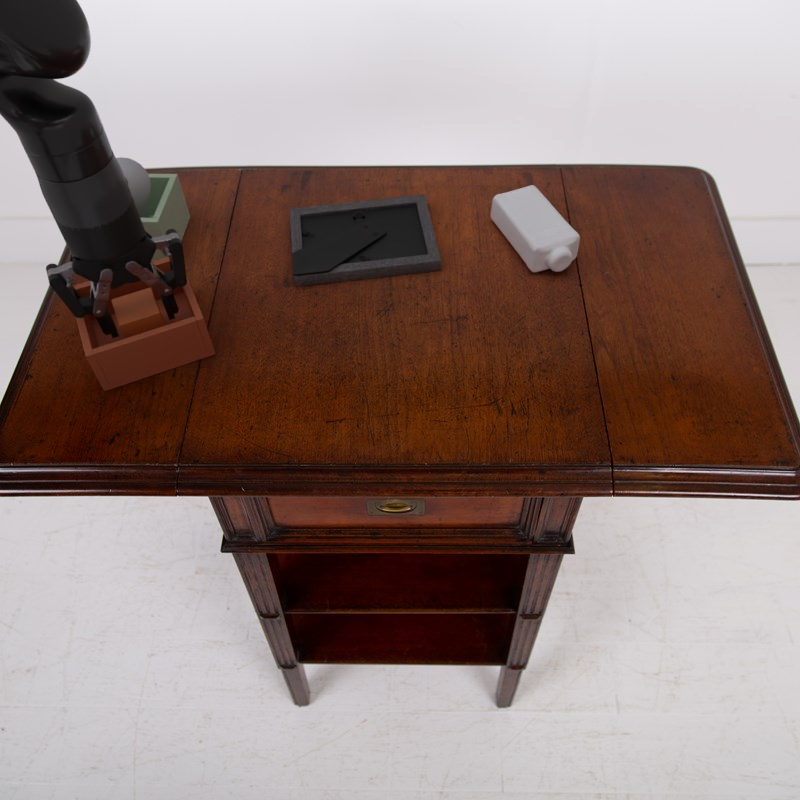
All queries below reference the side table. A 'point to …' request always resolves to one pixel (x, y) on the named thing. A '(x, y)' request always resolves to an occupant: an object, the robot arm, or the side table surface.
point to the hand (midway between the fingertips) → (143, 323)
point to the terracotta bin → (145, 337)
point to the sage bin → (165, 208)
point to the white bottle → (535, 229)
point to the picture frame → (363, 240)
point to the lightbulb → (137, 184)
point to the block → (137, 312)
